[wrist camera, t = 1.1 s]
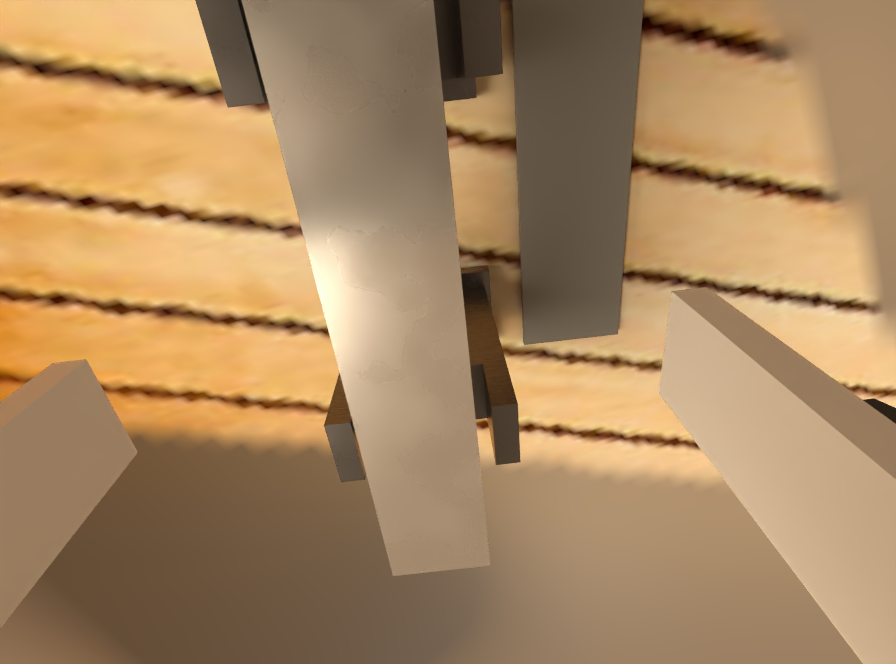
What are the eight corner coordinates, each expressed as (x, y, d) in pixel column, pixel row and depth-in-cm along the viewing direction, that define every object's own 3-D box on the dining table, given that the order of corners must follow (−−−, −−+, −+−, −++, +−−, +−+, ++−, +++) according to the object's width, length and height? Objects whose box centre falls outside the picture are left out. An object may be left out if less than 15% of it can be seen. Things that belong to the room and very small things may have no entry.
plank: (509, -47, 21) (511, -49, 20) (645, -64, 21) (648, -67, 20) (523, 341, 30) (524, 344, 30) (615, 331, 30) (617, 334, 30)
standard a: (290, -5, 21) (155, -86, 11) (466, -27, 21) (506, -130, 11) (316, 116, 24) (229, 148, 13) (474, 96, 23) (515, 113, 13)
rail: (251, -186, 12) (152, -337, 8) (406, -207, 12) (396, -371, 8) (399, 482, 24) (393, 575, 19) (478, 474, 24) (490, 565, 19)
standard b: (353, 281, 28) (309, 405, 17) (486, 265, 28) (524, 381, 17) (369, 352, 30) (339, 499, 20) (492, 338, 30) (528, 478, 20)
